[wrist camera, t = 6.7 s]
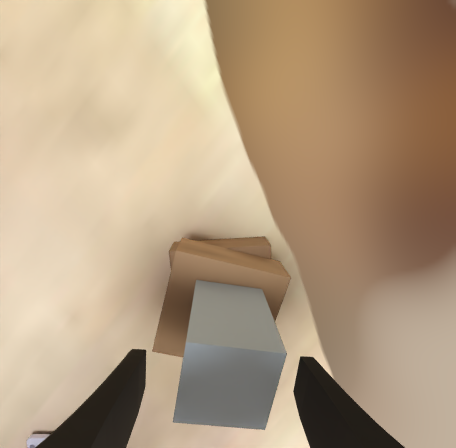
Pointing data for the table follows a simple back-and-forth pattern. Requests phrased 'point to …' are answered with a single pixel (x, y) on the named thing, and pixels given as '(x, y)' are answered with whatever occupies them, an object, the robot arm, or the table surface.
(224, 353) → the slate-blue block
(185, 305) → the upper walnut slab
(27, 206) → the table surface
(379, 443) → the robot arm
